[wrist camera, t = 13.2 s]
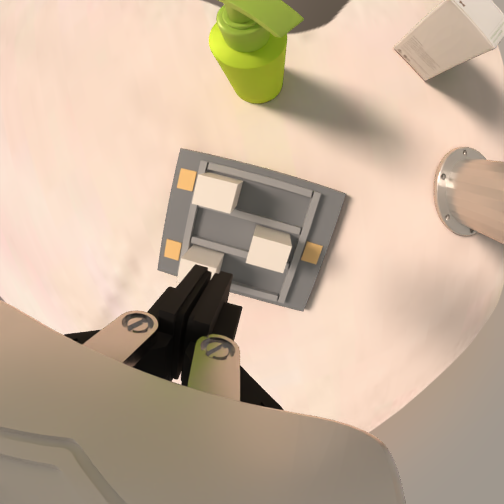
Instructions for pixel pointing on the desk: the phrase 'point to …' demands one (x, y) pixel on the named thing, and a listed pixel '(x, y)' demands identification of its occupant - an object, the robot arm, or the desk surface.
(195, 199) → the tab
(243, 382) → the robot arm
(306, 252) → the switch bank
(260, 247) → the tab
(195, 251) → the tab
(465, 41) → the skincare box
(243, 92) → the soap dispenser
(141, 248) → the desk surface
